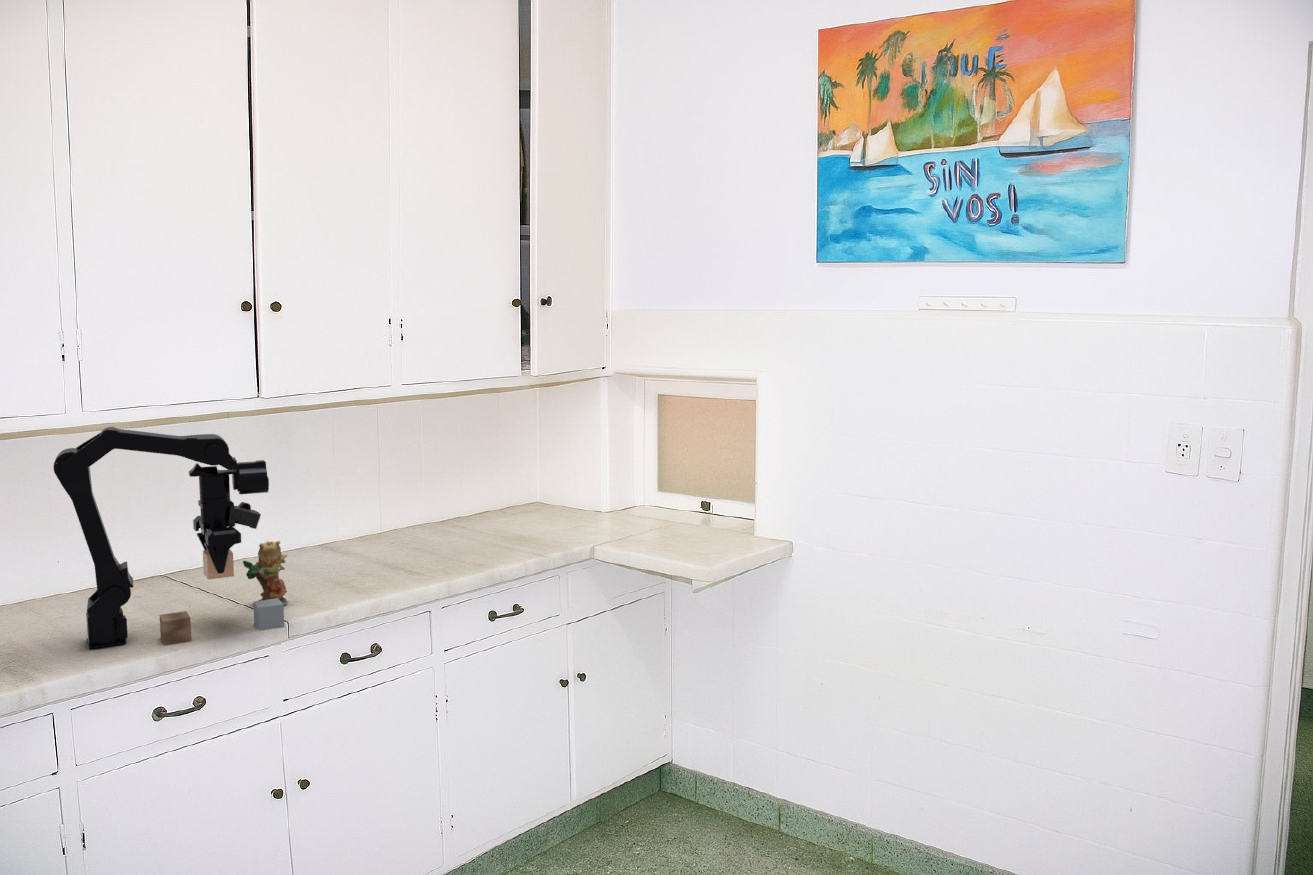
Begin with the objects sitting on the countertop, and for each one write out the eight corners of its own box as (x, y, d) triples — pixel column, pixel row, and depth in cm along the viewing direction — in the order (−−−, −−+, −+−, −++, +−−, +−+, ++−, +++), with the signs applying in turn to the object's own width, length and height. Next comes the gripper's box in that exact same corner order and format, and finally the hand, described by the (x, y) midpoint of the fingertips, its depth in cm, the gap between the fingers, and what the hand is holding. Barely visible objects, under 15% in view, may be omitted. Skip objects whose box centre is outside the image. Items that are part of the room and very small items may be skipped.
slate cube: (259, 630, 212) (258, 607, 212) (254, 624, 216) (253, 601, 216) (284, 627, 215) (283, 604, 214) (278, 620, 219) (277, 598, 218)
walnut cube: (164, 645, 202) (162, 621, 202) (160, 638, 207) (159, 614, 206) (191, 641, 205) (190, 617, 204) (187, 634, 209) (186, 611, 209)
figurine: (293, 600, 234) (291, 536, 232) (282, 610, 226) (280, 544, 224) (253, 599, 233) (250, 535, 231) (241, 609, 226) (238, 543, 224)
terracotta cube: (208, 579, 208) (206, 555, 208) (203, 573, 212) (202, 550, 212) (234, 576, 211) (233, 552, 210) (229, 570, 215) (228, 547, 214)
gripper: (266, 500, 206) (269, 575, 208) (246, 485, 222) (249, 555, 224) (206, 505, 200) (210, 582, 202) (191, 490, 216) (194, 562, 218)
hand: (218, 570), depth 212 cm, fingers closed on terracotta cube, 5 cm apart
